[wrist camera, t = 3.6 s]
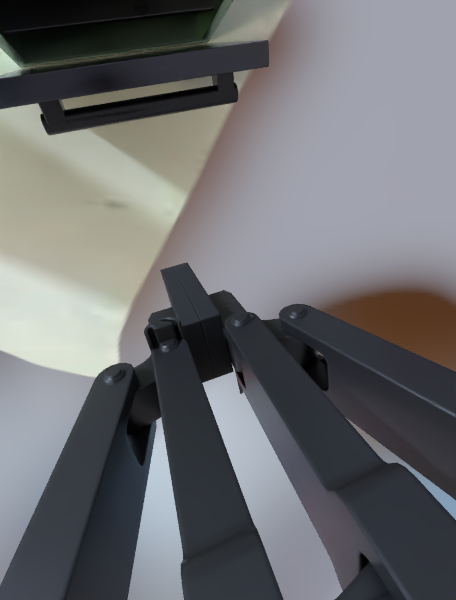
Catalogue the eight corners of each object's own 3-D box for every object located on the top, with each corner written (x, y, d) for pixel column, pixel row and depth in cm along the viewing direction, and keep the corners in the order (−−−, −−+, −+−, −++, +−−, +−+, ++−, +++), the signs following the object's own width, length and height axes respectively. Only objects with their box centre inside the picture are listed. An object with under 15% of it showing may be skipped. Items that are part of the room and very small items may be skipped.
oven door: (214, 84, 38) (269, 99, 26) (38, 113, 34) (11, 145, 22) (209, 43, 35) (268, 40, 24) (20, 69, 31) (-22, 81, 20)
